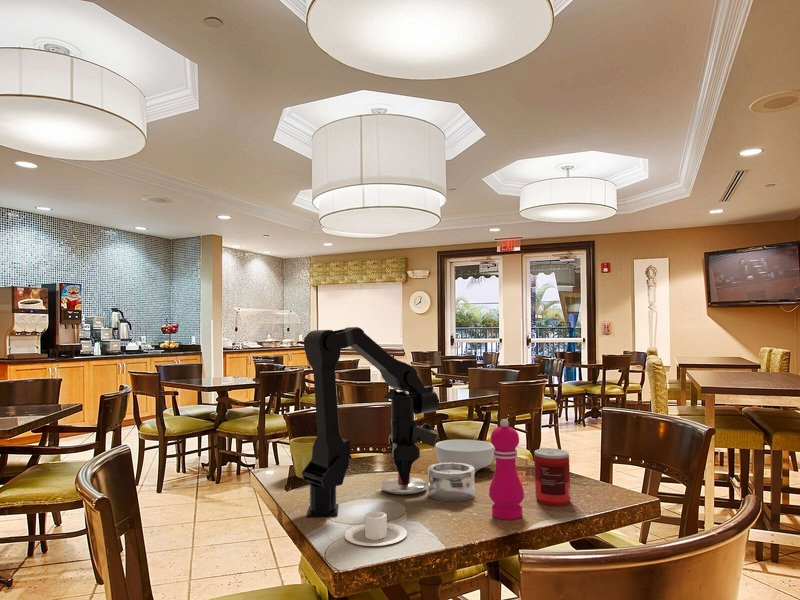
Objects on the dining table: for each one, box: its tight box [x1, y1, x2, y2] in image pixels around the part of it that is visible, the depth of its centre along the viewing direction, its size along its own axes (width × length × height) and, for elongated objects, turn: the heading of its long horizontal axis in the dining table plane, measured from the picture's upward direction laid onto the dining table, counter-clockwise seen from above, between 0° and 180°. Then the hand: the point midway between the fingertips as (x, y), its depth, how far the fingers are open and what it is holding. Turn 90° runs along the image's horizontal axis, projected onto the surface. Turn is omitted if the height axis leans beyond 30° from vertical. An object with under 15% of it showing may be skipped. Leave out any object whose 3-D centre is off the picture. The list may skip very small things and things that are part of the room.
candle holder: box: [344, 511, 408, 547], centre depth 102 cm, size 12×12×4 cm
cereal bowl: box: [434, 439, 495, 473], centre depth 151 cm, size 17×17×7 cm
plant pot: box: [289, 436, 317, 479], centre depth 148 cm, size 10×10×10 cm
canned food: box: [533, 447, 571, 507], centre depth 122 cm, size 8×8×11 cm
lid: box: [381, 471, 428, 495], centre depth 132 cm, size 11×11×6 cm
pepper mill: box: [488, 418, 525, 521], centre depth 113 cm, size 7×7×20 cm
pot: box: [427, 462, 476, 502], centre depth 128 cm, size 16×11×6 cm
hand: (403, 480), depth 132 cm, fingers open, 8 cm apart
